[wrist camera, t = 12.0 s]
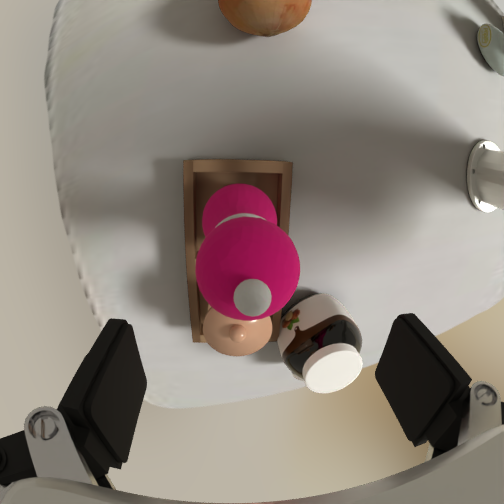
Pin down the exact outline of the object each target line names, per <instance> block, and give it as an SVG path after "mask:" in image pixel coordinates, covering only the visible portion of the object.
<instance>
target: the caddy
mask: <svg viewBox="0 0 504 504" xmlns="http://www.w3.org/2000/svg"><path fill="white" fill-rule="evenodd" d="M292 167H293V162H287V161H270V160H239V159H197V160H184V161H183V185H184V228H185V250H186V268H187V282H188V296H189V307H190V318H191V328H192V338H193V342H204V343H207V341H206V339H205V337H204V334H203V322H204V318H205V315H206V313H207V312H208V302H207V301H206V300H205V298H204V297H203V295H202V293H201V291H200V290H199V286H198V283H197V279H196V274H195V267H196V258H197V254H198V251H199V249H200V246H201V244H202V243H203V241H204V239H205V235H204V232H203V227H202V217H203V211H204V208H205V205H206V203H207V201H208V200H209V199H210V197H211V196H212V195H213V194H214V193H215V192H216V191H218V190H219V189H221V188H223V187H225V186H228V185H231V184H248V185H252V186H254V187H256V188H258V189H260V190H261V191H263V192H264V193H265V194H266V195H267V196H268V197H269V199H270V200H271V201H272V204H273V206H274V208H275V211H276V214H277V226H278V227H280V228H281V229H282V230H283V231H284V232H285V233H286V234H287V235H288V232H289V218H290V202H291V186H292ZM281 312H282V308H281V309H280V310H279V311H278V312H276V313H274V314H273V315H271V316H270V318H271V322H272V334H271V337H270V339H269V341H268V342H273V341H277V340H278V337H279V331H280V322H281Z"/></svg>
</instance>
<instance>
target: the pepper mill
mask: <svg viewBox="0 0 504 504" xmlns="http://www.w3.org/2000/svg"><path fill="white" fill-rule="evenodd" d="M202 227H203V232H204V235H205V239H204V241H203V243H202V244H201V246H200V249H199V251H198V254H197V258H196V267H195V274H196V279H197V283H198V286H199V290H200V291H201V293H202V295H203V297H204V298H205V300H206V301H207V302H208V304H209V305H210V306H211V307H212V308H214V309H215V310H216V311H217V312H219V313H221V314H223V315H224V316H226V317H230V318H233V319H237V320H243V321H253V320H258V319H263V318H265V317H268V316H271V315H273V314H274V313H276V312H278V311H279V310H280V309H281V308H283V307H284V306H285V305H286V304H287V302H288V301H289V300H290V298H291V297H292V295H293V294H294V292H295V290H296V287H297V284H298V281H299V276H300V262H299V257H298V253H297V250H296V248H295V246H294V244H293V242H292V240H291V239H290V237H289V236H288V235H287V234H286V233H285V232H284V231H283V230H282V229H281V228H280V227H278V226H277V214H276V211H275V208H274V206H273V204H272V201H271V200H270V199H269V197H268V196H267V195H266V194H265V193H264V192H263V191H261V190H260V189H258V188H256V187H254V186H252V185H248V184H231V185H228V186H225V187H223V188H221V189H219V190H218V191H216V192H215V193H214V194H213V195H212V196H211V197H210V199H209V200H208V201H207V203H206V205H205V208H204V211H203V217H202Z"/></svg>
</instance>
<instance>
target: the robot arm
mask: <svg viewBox="0 0 504 504" xmlns="http://www.w3.org/2000/svg"><path fill="white" fill-rule="evenodd" d="M467 185H468V191H469V195H470V198H471V200H472V202H473V204H474V205H475V207H476V208H477V209H479V210H481V211H483V212H491V211H493V210H494V209H495V208H496V207H498V208H500V209H503V210H504V152H501V151H500V150H499V148H498V147H497V146H496V145H495V144H494V143H493V142H491V141H486V140H483V141H480V142H478V143H477V144H476V145H475V146H474V148H473V150H472V151H471V154H470V157H469V161H468V167H467ZM375 377H376V380H377V382H378V384H379V385H380V387H381V389H382V391H383V393H384V394H385V396H386V398H387V400H388V402H389V404H390V406H391V408H392V409H393V411H394V413H395V415H396V417H397V419H398V421H399V423H400V425H401V426H402V428H403V431H404V433H405V435H406V437H407V438H408V440H409V441H412V443H413V445H414V446H415V447H416V446H418V445H421V444H423V443H426V442H427V440H429V443H430V445H429V449H428V453H427V457H426V460H425V462H424V463H422V464H420V465H418V466H415V467H413V468H410V469H408V470H405V471H403V472H400V473H398V474H395V475H392V476H389V477H386V478H384V479H380V480H377V481H374V482H371V483H368V484H364V485H361V486H357V487H353V488H349V489H345V490H341V491H337V492H333V493H328V494H323V495H318V496H312V497H306V498H299V499H292V500H285V501H274V502H261V503H235V504H504V402H501V400H500V394H499V392H498V390H497V389H496V388H495V387H494V386H493V385H492V384H490V383H488V382H484V381H479V382H476V383H474V384H473V385H472V387H471V388H469V386H468V385H469V384H470V382H471V380H472V379H471V378H470V377H469V375H468V374H467V373H466V372H465V370H464V369H463V368H462V367H461V366H460V364H459V363H458V362H457V361H456V360H455V359H454V357H453V356H452V355H451V354H450V353H449V352H448V351H447V349H446V348H445V347H444V346H443V345H442V344H441V343H440V342H439V340H438V339H437V338H436V337H435V336H434V335H433V334H432V333H431V331H430V330H429V329H428V328H427V327H426V326H425V325H424V324H423V323H422V322H421V321H420V320H419V319H418V317H417V316H416V315H415V314H413V313H409V314H401V315H399V316H398V317H397V319H395V320H394V322H393V325H392V328H391V331H390V334H389V336H388V339H387V342H386V345H385V348H384V350H383V353H382V355H381V358H380V361H379V363H378V366H377V368H376V371H375ZM146 387H147V380H146V376H145V372H144V369H143V366H142V362H141V358H140V355H139V351H138V347H137V343H136V339H135V335H134V331H133V327H132V325H131V324H128V323H127V321H126V320H123V319H109V320H108V322H107V323H106V325H105V326H104V328H103V330H102V331H101V333H100V335H99V336H98V338H97V340H96V342H95V343H94V345H93V347H92V348H91V350H90V351H89V353H88V354H87V355H86V356H85V358H84V360H83V362H82V363H81V365H80V367H79V368H78V370H77V372H76V374H75V376H74V377H73V379H72V381H71V383H70V385H69V387H68V389H67V391H66V392H65V394H64V396H63V398H62V400H61V402H60V404H59V406H58V408H57V409H54V408H52V407H46V406H44V407H39V408H37V409H34V410H33V411H32V412H30V413H29V415H28V416H27V418H26V419H25V424H24V430H23V431H20V432H18V433H15V434H12V435H10V436H7V437H3V438H1V439H0V504H229V503H199V502H186V501H177V500H169V499H161V498H154V497H148V496H142V495H137V494H132V493H127V492H123V491H118V490H116V489H115V487H114V485H113V484H112V482H111V480H110V479H109V477H108V475H107V474H108V471H109V467H113V468H117V469H121V466H122V462H123V463H126V462H127V460H128V456H129V452H130V447H131V444H132V440H133V435H134V432H135V427H136V424H137V419H138V416H139V413H140V409H141V405H142V402H143V398H144V395H145V391H146ZM232 504H234V503H232Z"/></svg>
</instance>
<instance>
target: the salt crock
mask: <svg viewBox="0 0 504 504" xmlns="http://www.w3.org/2000/svg"><path fill="white" fill-rule="evenodd" d="M203 334H204V337H205V339H206V341H207V343H208V344H209V345H210V346H211V347H212V348H213V349H215V350H216V351H218V352H220V353H222V354H225V355H230V356H244V355H249V354H252V353H254V352H256V351H258V350H260V349H261V348H262V347H263V346H264V345H265V344H266V343H267V342H268V341H269V339H270V337H271V334H272V322H271V318H270V316H268V317H265V318H263V319H258V320H253V321H243V320H237V319H233V318H230V317H226V316H224V315H223V314H221V313H219V312H217V311H216V310H215V309H214V308H212V307H211V306H210V305H209V304H208V312H207V313H206V315H205V318H204V322H203Z"/></svg>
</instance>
